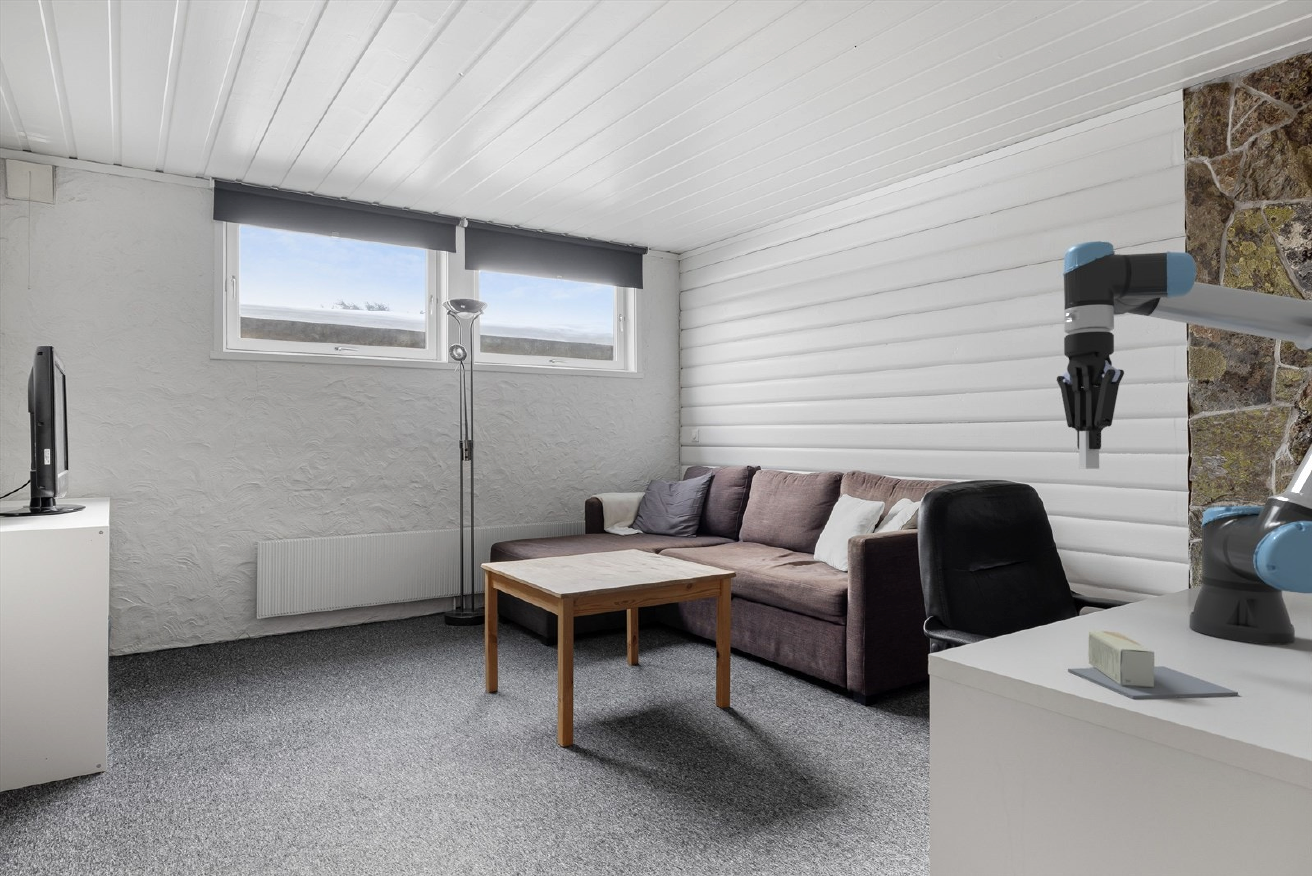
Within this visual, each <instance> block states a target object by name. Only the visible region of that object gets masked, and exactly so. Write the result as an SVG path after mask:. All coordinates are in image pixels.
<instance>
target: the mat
mask: <svg viewBox="0 0 1312 876" xmlns="http://www.w3.org/2000/svg"><path fill="white" fill-rule="evenodd" d="M1067 672H1068V673H1070V674H1073V675H1076V676H1078V677H1080V678H1083V679H1085V680H1087V681H1090V682H1092V683H1094V684H1097V685H1099V686H1101V687H1104V688H1106V689H1108V690H1111V691H1114V692H1116V693H1118V694H1121V695H1123V696H1126V697H1127V698H1130V699H1133V700H1134V699H1135V700H1136V699H1139V700H1140V699H1164V698H1165V699H1167V698H1196V697H1197V698H1199V697H1225V696H1226V697H1227V696H1228V697H1229V696H1239V692H1238V691H1236V690H1233V689H1231V688H1226V687H1223V686H1222V685H1218V684H1215V683H1212V682H1210V681H1206V680H1205V679H1201V678H1199V677H1196V676H1192V675H1189V674H1187V673H1183V672H1181V671H1178V670H1175V669H1172V668H1170V667H1167V666H1163V665H1161V666H1158V665H1157V666H1154V687H1131V686H1121V685H1119V684H1118V683H1116V682H1115V681H1114V680H1112V679H1111V678H1109V677H1108V676H1106V675H1105V674H1104V673H1102V672H1101V671H1099V670H1098V669H1096V668H1095V667H1086V668H1084V667H1083V668H1079V667H1078V668H1067Z"/></svg>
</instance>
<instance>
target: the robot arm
mask: <svg viewBox="0 0 1312 876" xmlns="http://www.w3.org/2000/svg"><path fill="white" fill-rule="evenodd" d="M1115 252H1116V251H1115V250H1114V245H1113V244H1112V243H1111V242H1109V241H1101V240H1099V241H1087V242H1081V243H1077V244H1075V245H1072V246H1070V247H1069V248H1068V249H1067V250H1066V252H1065V254H1064V262H1063V263H1064V264H1063V273H1062V276H1063V293H1064V295H1063V298H1064V315H1063V316H1064V321H1063V323H1064V329H1063V331H1064V332H1065V333H1066V334H1067V335H1065V336H1064V338H1063V339H1064V340H1063V341H1064V342H1063V344H1064V346H1063V347H1064V348H1063V351H1064V356H1065V357H1067V359H1068V364H1067V368H1066V372H1065V373H1064V374H1063V375H1058V376H1057V377H1056V382H1057V384H1058V386H1059V388H1060V394H1061V397H1062V402H1063V408H1064V413H1065V419H1066V425H1067V428H1072V429H1074V430H1075V431H1076V433H1077V435H1076V436H1077V440H1076V441H1077V442H1076V443H1077V449H1078V456H1079V457H1078V459H1079V460H1078V461H1079V462H1078V463H1079V465H1078V467H1079V469H1087V470H1089V469H1091V470H1092V469H1097V470H1099V469H1100V450H1101V448H1102V431H1103V430H1104V429H1105V428H1107V427H1111V426H1112V425H1113V418H1114V416H1115V415H1114V414H1115V409H1116V403H1117V397H1118V392H1119V387H1120V383H1121V381H1122V379H1123V377H1124V375H1125V371H1124V370H1123V369H1119V368H1118V369H1117V368H1115V367H1114V366H1113V365H1112V364H1113V363H1112V360H1111V357H1110V356H1111V355H1112V354H1114V352H1115V334H1113V332H1111V331H1113V330H1115V317H1114V316H1116V315H1117V316H1119V315H1125V314H1132V315H1139V316H1144V317H1145V316H1146V317H1151V318H1157V319H1161V320H1162V319H1163V320H1168V321H1174V322H1178V323H1183V324H1189V325H1195V326H1200V327H1207V328H1212V329H1217V330H1223V331H1229V332H1234V333H1240V334H1245V335H1250V336H1252V335H1253V336H1256V337H1257V336H1258V337H1261V338H1268V339H1273V340H1279V341H1283V342H1284V341H1286V342H1290V343H1291V342H1292V343H1294V345H1295V347H1296V348H1297V349H1299V350H1302V351H1305V352H1312V300H1307V299H1301V298H1295V297H1290V296H1285V295H1284V296H1283V295H1278V294H1277V295H1276V294H1270V293H1266V292H1265V293H1264V292H1259V291H1253V290H1246V289H1242V288H1241V289H1240V288H1235V287H1230V286H1229V287H1228V286H1223V285H1216V284H1210V283H1205V282H1198V281H1196V277H1197V266H1196V261H1195V259H1194V257H1193V256H1192V255H1191V254H1190V253H1188V252H1181V251H1180V252H1178V251H1177V252H1175V251H1174V252H1172V251H1166V252H1152V253H1133V254H1120V253H1119V254H1116V253H1115ZM1200 528H1201V588H1200V591H1199V593H1198V595H1197V598H1196V601H1195V604H1194V607H1193V611H1191V612H1190V614H1189V625H1188V626H1189V628H1190V629H1191V630H1193V631H1195V632H1198V633H1200V634H1204V635H1208V636H1212V637H1217V638H1222V639H1228V640H1233V641H1239V642H1245V643H1255V644H1270V645H1272V644H1273V645H1283V644H1285V645H1286V644H1292V643H1294V642H1295V637H1296V636H1295V635H1296V633H1295V632H1296V631H1295V627H1294V625H1293V624H1292V622H1291V619H1290V616H1289V612H1288V608H1287V606H1286V603H1285V600H1284V598H1283V597H1284V595H1283V592H1289V593H1296V594H1297V593H1298V594H1312V443H1311V444H1310V446H1309V448H1308V449H1307V452H1306V453H1305V455H1304V457H1303V459H1302V460H1301V462H1300V464H1299V466H1298V468H1297V470H1296V471H1295V473H1294V474H1293V476H1292V478H1291V481H1290V483H1289V484H1288V485H1287V488H1286V489H1285V491H1283V492H1282V493H1277V494H1275V495H1271V496H1269V497H1268V498H1267V500H1266V501H1265V503H1264V505H1263V506H1247V505H1246V506H1244V505H1241V506H1240V505H1239V506H1238V505H1237V506H1236V505H1235V506H1215V507H1214V506H1212V507H1209V508H1207V509H1206V510H1204V512H1203V515H1202V522H1201V525H1200Z"/></svg>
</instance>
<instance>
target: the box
mask: <svg viewBox="0 0 1312 876" xmlns="http://www.w3.org/2000/svg"><path fill="white" fill-rule="evenodd" d="M1087 655H1088V664H1089V665H1091V666H1092V667H1093V668H1096V669H1098V670H1099V671H1101V672H1102V673H1104V674H1105V675H1106V676H1108V677H1109V678H1111V679H1112V680H1114V681H1115V682H1116V683H1118V684H1119V685H1121V686H1131V687H1154V667H1155V652H1154V651H1153V650H1151V649H1149V648H1148V647H1145V646H1144V645H1142V644H1140V643H1138V642H1137V641H1135V640H1133V639H1131V638H1129V637H1128V636H1126V635H1123V633H1120V632H1117V631H1116V632H1115V631H1103V630H1089V631H1088V654H1087Z"/></svg>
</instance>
